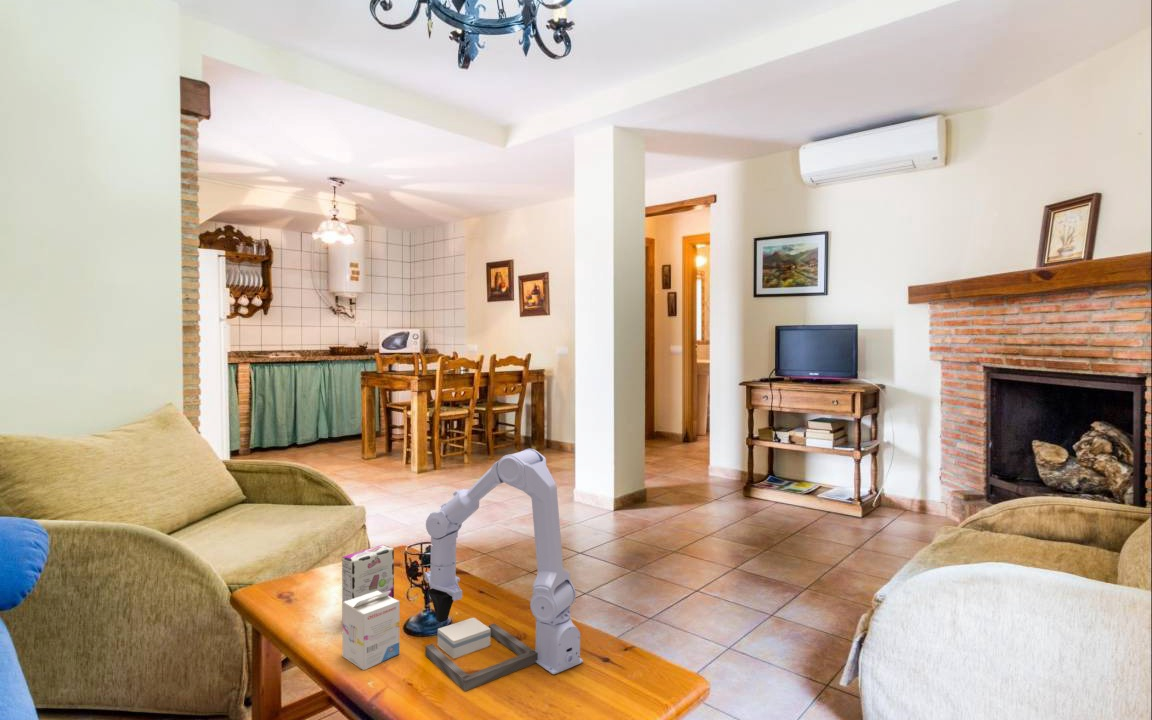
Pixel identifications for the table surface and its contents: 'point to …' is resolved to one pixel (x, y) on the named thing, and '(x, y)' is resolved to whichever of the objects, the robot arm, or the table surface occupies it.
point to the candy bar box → (368, 573)
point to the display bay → (490, 673)
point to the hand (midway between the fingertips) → (442, 620)
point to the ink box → (371, 629)
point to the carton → (463, 637)
